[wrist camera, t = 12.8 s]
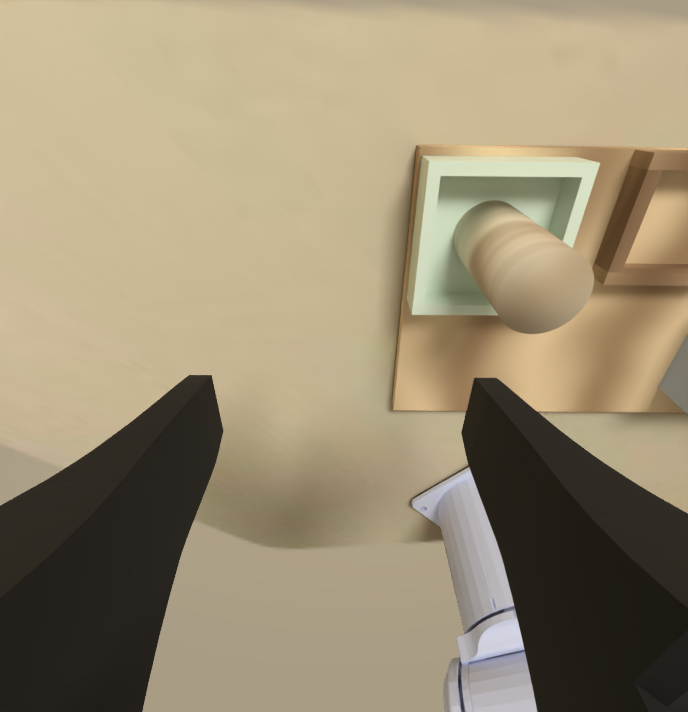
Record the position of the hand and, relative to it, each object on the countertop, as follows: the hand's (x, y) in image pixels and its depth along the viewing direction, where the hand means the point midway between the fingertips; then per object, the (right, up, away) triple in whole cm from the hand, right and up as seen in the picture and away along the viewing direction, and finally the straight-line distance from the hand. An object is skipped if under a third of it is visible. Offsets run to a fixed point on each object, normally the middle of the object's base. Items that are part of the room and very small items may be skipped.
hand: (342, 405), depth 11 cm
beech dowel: (+6, +7, +7) cm, 11 cm away
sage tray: (+6, +7, +7) cm, 12 cm away
